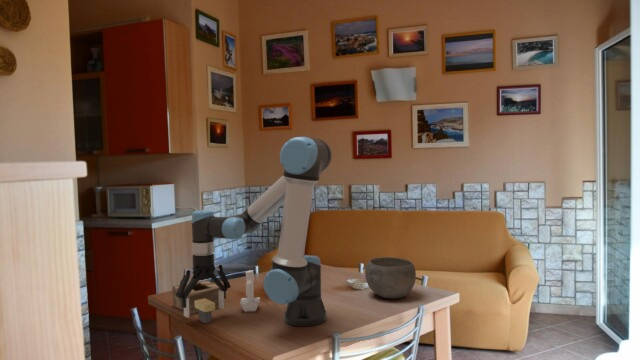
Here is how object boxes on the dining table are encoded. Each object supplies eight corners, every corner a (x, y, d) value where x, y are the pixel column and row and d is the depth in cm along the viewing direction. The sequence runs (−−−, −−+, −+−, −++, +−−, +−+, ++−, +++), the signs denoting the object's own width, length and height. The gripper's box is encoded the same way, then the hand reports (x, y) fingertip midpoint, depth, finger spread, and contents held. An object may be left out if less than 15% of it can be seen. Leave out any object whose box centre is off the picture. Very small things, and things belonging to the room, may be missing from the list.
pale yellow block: (215, 309, 162) (215, 302, 162) (204, 312, 160) (204, 305, 160) (204, 305, 168) (204, 298, 168) (194, 307, 166) (194, 300, 166)
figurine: (239, 313, 171) (238, 274, 171) (242, 306, 181) (241, 268, 181) (259, 313, 172) (258, 273, 172) (260, 305, 181) (259, 268, 181)
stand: (211, 321, 163) (211, 309, 163) (205, 323, 161) (204, 310, 161) (205, 318, 167) (204, 306, 167) (198, 320, 165) (198, 307, 165)
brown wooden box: (223, 307, 180) (223, 287, 180) (190, 315, 171) (189, 294, 171) (205, 299, 192) (204, 280, 192) (173, 306, 183) (172, 286, 183)
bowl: (426, 299, 185) (425, 262, 184) (381, 306, 177) (380, 268, 177) (398, 287, 204) (398, 254, 204) (357, 293, 196) (356, 258, 196)
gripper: (229, 247, 174) (229, 302, 175) (165, 256, 158) (166, 317, 159) (239, 250, 169) (240, 307, 169) (173, 260, 152) (175, 322, 153)
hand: (204, 312), depth 164 cm, fingers open, 13 cm apart
